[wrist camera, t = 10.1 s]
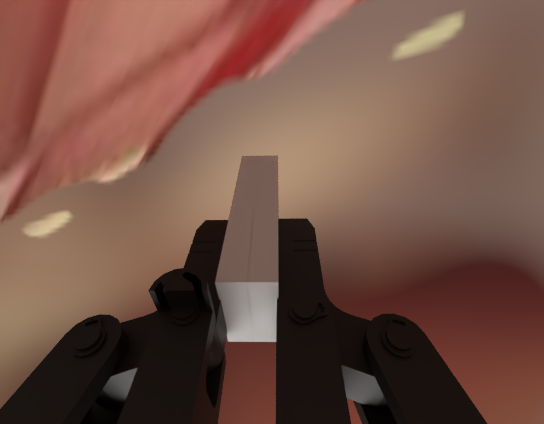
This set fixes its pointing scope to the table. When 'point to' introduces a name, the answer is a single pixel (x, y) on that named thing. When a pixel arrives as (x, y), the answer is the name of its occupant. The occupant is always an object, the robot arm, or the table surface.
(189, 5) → the table surface
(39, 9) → the table surface
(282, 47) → the table surface
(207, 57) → the table surface
